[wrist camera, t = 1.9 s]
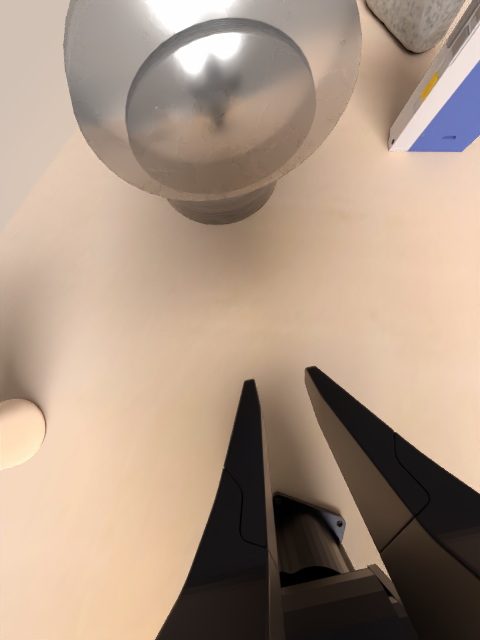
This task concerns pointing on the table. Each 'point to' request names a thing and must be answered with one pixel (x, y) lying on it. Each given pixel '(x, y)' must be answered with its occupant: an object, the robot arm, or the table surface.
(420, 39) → the decorative stone
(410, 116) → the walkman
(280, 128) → the cooker lid
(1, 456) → the beer glass
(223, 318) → the table surface
